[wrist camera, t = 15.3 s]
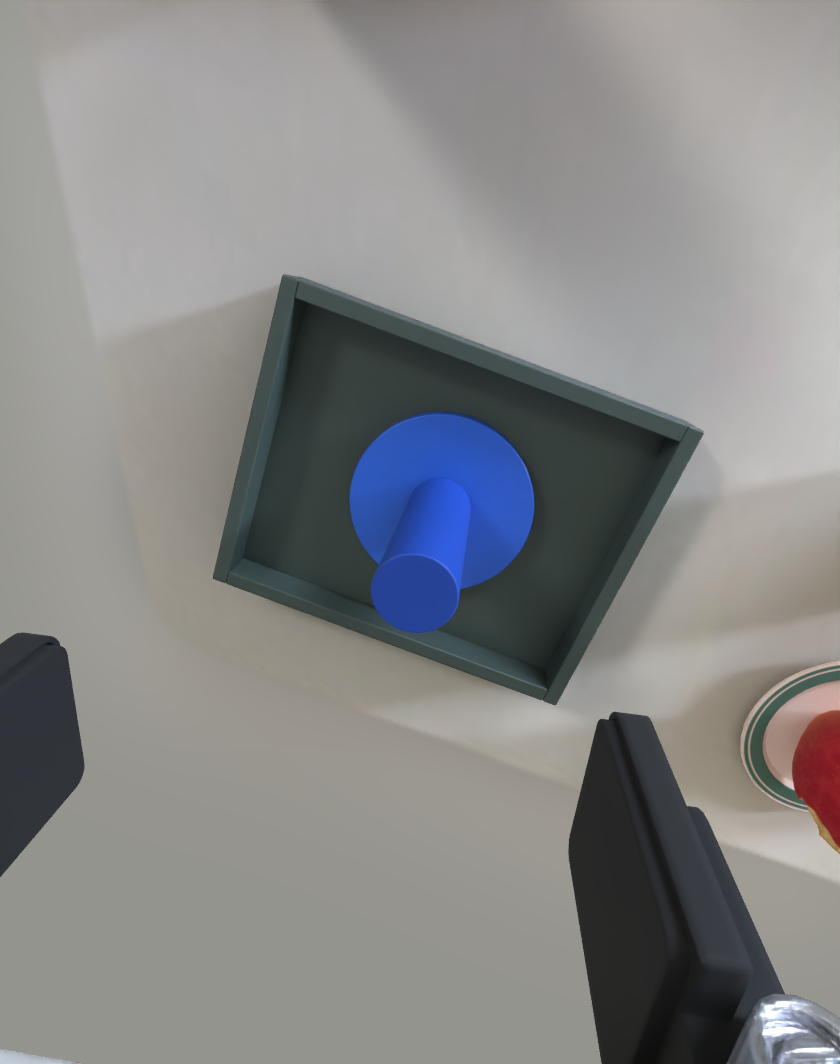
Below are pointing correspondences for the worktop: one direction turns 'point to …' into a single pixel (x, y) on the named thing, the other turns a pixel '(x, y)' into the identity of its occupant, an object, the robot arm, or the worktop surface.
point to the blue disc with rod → (438, 513)
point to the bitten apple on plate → (799, 746)
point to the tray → (454, 386)
